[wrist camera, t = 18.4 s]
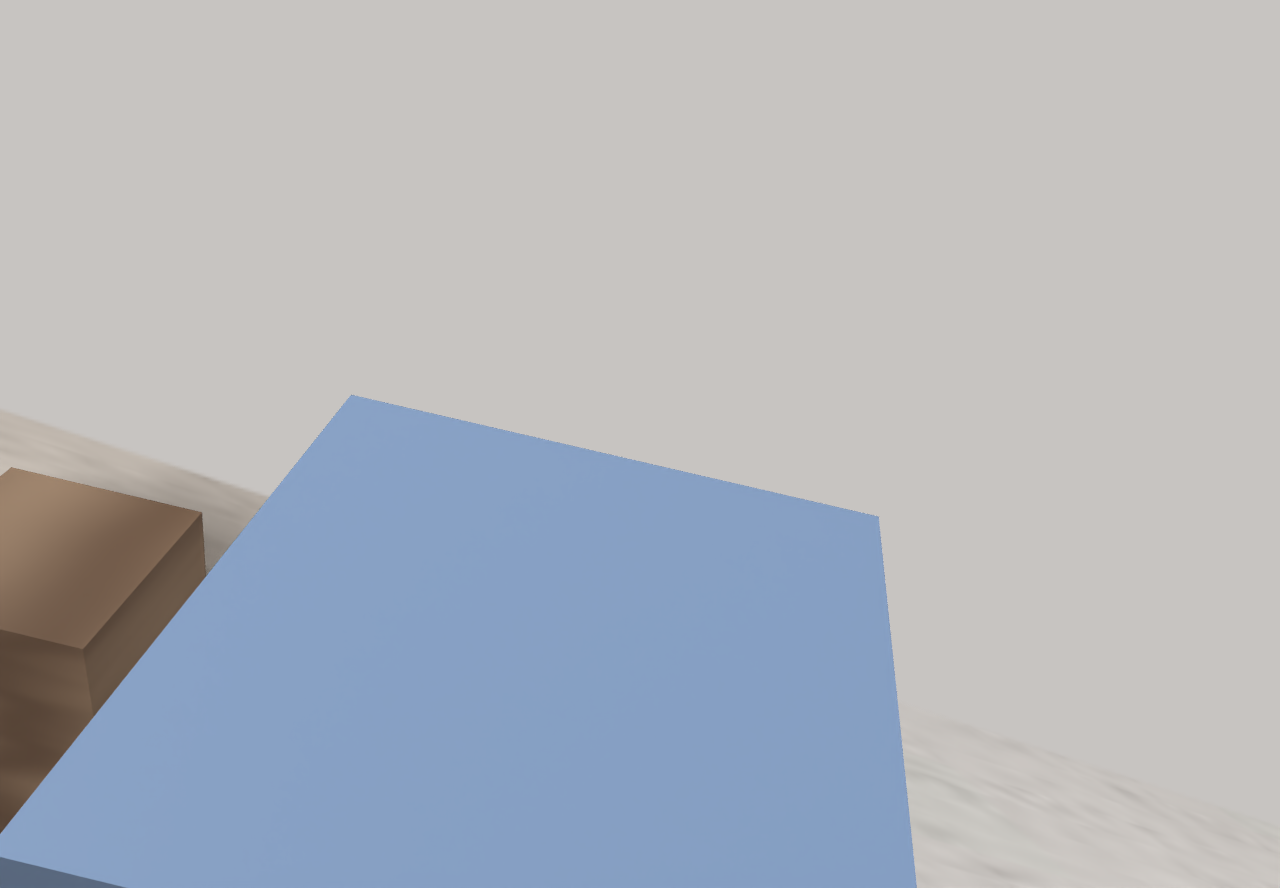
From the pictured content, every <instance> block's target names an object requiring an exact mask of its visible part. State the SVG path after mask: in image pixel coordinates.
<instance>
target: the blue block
mask: <svg viewBox="0 0 1280 888" xmlns="http://www.w3.org/2000/svg"><path fill="white" fill-rule="evenodd" d="M0 888H917V885H916V875H915V866H914V856H913V846H912V837H911V827H910V817H909V807H908V798H907V788H906V778H905V769H904V759H903V749H902V740H901V730H900V720H899V711H898V701H897V691H896V682H895V672H894V662H893V653H892V643H891V633H890V624H889V614H888V604H887V594H886V584H885V575H884V565H883V555H882V546H881V537H880V527H879V517H878V516H874V515H869V514H865V513H861V512H856V511H852V510H847V509H843V508H839V507H835V506H830V505H826V504H821V503H817V502H813V501H808V500H804V499H800V498H796V497H791V496H787V495H783V494H778V493H774V492H770V491H765V490H761V489H757V488H752V487H748V486H744V485H739V484H735V483H731V482H726V481H722V480H718V479H713V478H709V477H705V476H701V475H696V474H692V473H688V472H683V471H679V470H675V469H670V468H666V467H662V466H657V465H653V464H648V463H644V462H640V461H636V460H631V459H627V458H622V457H618V456H614V455H610V454H605V453H601V452H596V451H592V450H588V449H583V448H579V447H575V446H571V445H566V444H562V443H558V442H553V441H549V440H545V439H540V438H536V437H532V436H527V435H523V434H519V433H514V432H510V431H505V430H501V429H497V428H493V427H488V426H484V425H480V424H475V423H471V422H467V421H462V420H458V419H454V418H449V417H445V416H441V415H436V414H432V413H428V412H423V411H419V410H415V409H410V408H406V407H402V406H397V405H393V404H388V403H385V402H380V401H376V400H371V399H367V398H363V397H358V396H354V395H351V396H350V397H349V398H348V399H347V401H346V402H345V403H344V404H343V406H342V407H341V408H340V409H339V411H338V412H337V413H336V415H335V416H334V417H333V418H332V419H331V421H330V422H329V423H328V424H327V426H326V427H325V428H324V429H323V431H322V432H321V433H320V435H319V436H318V437H317V438H316V439H315V441H314V442H313V443H312V444H311V446H310V447H309V448H308V449H307V451H306V452H305V453H304V454H303V456H302V457H301V458H300V460H299V461H298V462H297V463H296V464H295V466H294V467H293V468H292V470H291V471H290V472H289V473H288V475H287V476H286V477H285V478H284V480H283V481H282V482H281V483H280V485H279V486H278V487H277V488H276V490H275V491H274V492H273V493H272V495H271V496H270V497H269V498H268V500H267V501H266V502H265V503H264V505H263V506H262V507H261V508H260V510H259V511H258V512H257V513H256V515H255V516H254V517H253V518H252V520H251V521H250V522H249V523H248V525H247V526H246V527H245V528H244V530H243V531H242V532H241V533H240V535H239V536H238V537H237V538H236V540H235V541H234V542H233V543H232V545H231V546H230V547H229V548H228V550H227V551H226V552H225V553H224V555H223V556H222V557H221V558H220V560H219V561H218V562H217V563H216V565H215V566H214V567H213V568H212V570H211V571H210V572H209V573H208V575H207V576H206V577H205V578H204V580H203V581H202V582H201V583H200V585H199V586H198V587H197V588H196V590H195V591H194V592H193V593H192V595H191V596H190V597H189V598H188V600H187V601H186V602H185V603H184V605H183V606H182V607H181V608H180V610H179V611H178V612H177V613H176V615H175V616H174V617H173V618H172V620H171V621H170V622H169V623H168V625H167V626H166V627H165V628H164V630H163V631H162V632H161V633H160V635H159V636H158V637H157V638H156V640H155V641H154V642H153V643H152V645H151V646H150V647H149V648H148V650H147V651H146V652H145V653H144V655H143V656H142V657H141V658H140V660H139V661H138V662H137V663H136V665H135V666H134V667H133V668H132V670H131V671H130V672H129V673H128V675H127V676H126V677H125V678H124V680H123V681H122V682H121V683H120V685H119V686H118V687H117V689H116V690H115V691H114V692H113V694H112V695H111V696H110V697H109V699H108V700H107V701H106V702H105V704H104V705H103V706H102V707H101V709H100V710H99V711H98V712H97V714H96V715H95V716H94V717H93V719H92V720H91V721H90V722H89V724H88V725H87V726H86V727H85V729H84V730H83V731H82V732H81V734H80V735H79V736H78V737H77V739H76V740H75V741H74V742H73V744H72V745H71V746H70V747H69V749H68V750H67V751H66V752H65V754H64V755H63V756H62V757H61V759H60V760H59V761H58V762H57V764H56V765H55V766H54V767H53V769H52V770H51V771H50V772H49V774H48V775H47V776H46V777H45V779H44V780H43V781H42V782H41V784H40V785H39V786H38V787H37V789H36V790H35V791H34V792H33V794H32V795H31V796H30V797H29V799H28V800H27V801H26V802H25V804H24V805H23V806H22V807H21V809H20V810H19V811H18V812H17V814H16V815H15V816H14V817H13V819H12V820H11V821H10V822H9V824H8V825H7V826H6V827H5V829H4V830H3V831H2V832H1V834H0Z"/></svg>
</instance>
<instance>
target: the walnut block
mask: <svg viewBox="0 0 1280 888" xmlns="http://www.w3.org/2000/svg"><path fill="white" fill-rule="evenodd" d="M205 577H206V569H205V554H204V538H203V523H202V512H198V511H193V510H189V509H185V508H181V507H177V506H172V505H168V504H164V503H160V502H155V501H151V500H147V499H143V498H139V497H134V496H130V495H126V494H122V493H117V492H113V491H109V490H105V489H101V488H96V487H92V486H88V485H84V484H80V483H75V482H71V481H67V480H63V479H58V478H54V477H50V476H46V475H42V474H37V473H33V472H29V471H25V470H20V469H16V468H12V467H11V468H10V469H9V470H8V471H6V472H5V473H4V474H3V475H1V476H0V834H1V832H2V831H3V830H4V829H5V827H6V826H7V825H8V824H9V822H10V821H11V820H12V819H13V817H14V816H15V815H16V814H17V812H18V811H19V810H20V809H21V807H22V806H23V805H24V804H25V802H26V801H27V800H28V799H29V797H30V796H31V795H32V794H33V792H34V791H35V790H36V789H37V787H38V786H39V785H40V784H41V782H42V781H43V780H44V779H45V777H46V776H47V775H48V774H49V772H50V771H51V770H52V769H53V767H54V766H55V765H56V764H57V762H58V761H59V760H60V759H61V757H62V756H63V755H64V754H65V752H66V751H67V750H68V749H69V747H70V746H71V745H72V744H73V742H74V741H75V740H76V739H77V737H78V736H79V735H80V734H81V732H82V731H83V730H84V729H85V727H86V726H87V725H88V724H89V722H90V721H91V720H92V719H93V717H94V716H95V715H96V714H97V712H98V711H99V710H100V709H101V707H102V706H103V705H104V704H105V702H106V701H107V700H108V699H109V697H110V696H111V695H112V694H113V692H114V691H115V690H116V689H117V687H118V686H119V685H120V683H121V682H122V681H123V680H124V678H125V677H126V676H127V675H128V673H129V672H130V671H131V670H132V668H133V667H134V666H135V665H136V663H137V662H138V661H139V660H140V658H141V657H142V656H143V655H144V653H145V652H146V651H147V650H148V648H149V647H150V646H151V645H152V643H153V642H154V641H155V640H156V638H157V637H158V636H159V635H160V633H161V632H162V631H163V630H164V628H165V627H166V626H167V625H168V623H169V622H170V621H171V620H172V618H173V617H174V616H175V615H176V613H177V612H178V611H179V610H180V608H181V607H182V606H183V605H184V603H185V602H186V601H187V600H188V598H189V597H190V596H191V595H192V593H193V592H194V591H195V590H196V588H197V587H198V586H199V585H200V583H201V582H202V581H203V580H204V578H205Z"/></svg>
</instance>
